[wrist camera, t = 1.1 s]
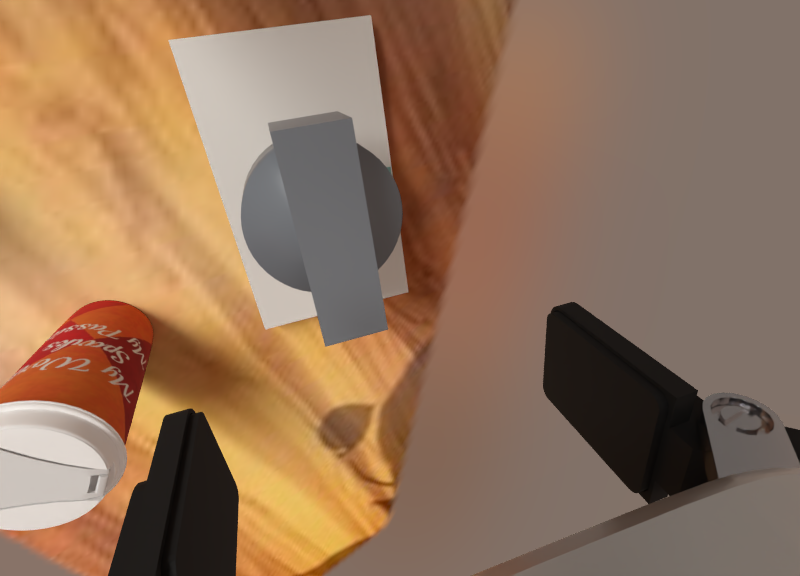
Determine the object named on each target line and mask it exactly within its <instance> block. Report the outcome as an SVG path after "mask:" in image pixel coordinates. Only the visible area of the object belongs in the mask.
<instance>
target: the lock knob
mask: <svg viewBox="0 0 800 576" xmlns="http://www.w3.org/2000/svg"><path fill="white" fill-rule="evenodd" d="M268 126H269V131H270V135H271V139H272V143H273V144H271V145H270V146H269V147H268V148H266V149H265V150H264V151H263V152H262V153H261V154H260V155H259V156H258V158H257V159H256V161H255V162H254V163H253V165H252V167H251V169H250V171H249V173H248V175H247V178H246V181H245V184H244V190H243V196H242V204H241V226H242V231H243V235H244V239H245V241H246V244H247V246H248V249H249V250H250V252H251V254H252V256H253V257H254V259H255V260H256V261H257V263H258V264H259V265H260V266H261V267H262V268H263V269H264V270H265V271H266V272H267V273H268V274H269V275H271V276H272V277H273V278H275V279H276V280H278V281H279V282H281V283H283V284H285V285H287V286H290V287H292V288H295V289H298V290H302V291H307V292H311V293H312V297H313V300H314V304H315V308H316V312H317V316H318V320H319V324H320V327H321V331H322V335H323V339H324V343H325V347H326V346H330V345H333V344H337V343H341V342H344V341H348V340H351V339H355V338H359V337H362V336H366V335H370V334H373V333H377V332H381V331H384V330H388V327H387V321H386V315H385V309H384V303H383V297H382V291H381V285H380V279H379V273H378V270H379V269H380V268H381V267H382V265H383V264H384V263H385V262H386V261H387V259H388V258H389V256H390V255H391V253H392V252H393V250H394V248H395V246H396V243H397V241H398V238H399V235H400V231H401V226H402V215H403V213H402V202H401V197H400V193H399V190H398V187H397V184H396V182H395V180H394V178H393V176H392V175H391V173H390V172H389V170H388V169H387V167H386V166H385V165H384V164H383V163H382V162H381V161H380V159H378V158H377V157H376V156H375V155H374V154H373V153H371V152H370V151H368V150H367V149H365V148H364V147H363V146H361V145H360V144H358V143H356V138H355V132H354V126H353V120H352V117H349V116H347V115H345V114H342V113H340V112H338V111H335V112H329V113H323V114H317V115H311V116H305V117H299V118H293V119H287V120H281V121H275V122H270V123H268Z"/></svg>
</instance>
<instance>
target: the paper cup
mask: <svg viewBox="0 0 800 576" xmlns="http://www.w3.org/2000/svg"><path fill="white" fill-rule="evenodd" d="M152 342H153V328H152V325H151V323H150V321H149V319H148V318H147V317H146V316H145V315H144V314H143V313H142V312H141V311H140V310H138V309H137V308H135V307H133V306H131V305H129V304H126V303H123V302H119V301H110V300H105V301H97V302H93V303H90V304H88V305H85V306H84V307H82V308H80V309H79V310H78V311H76V312H75V313H74V314H73V315H72V316H71V317H70V318H69V319H68V320H67V321H66V322H65V323H64V324H63V325H62V326H61V327H60V328H59V329H58V330H57V331H56V332H55V333H54V334H53V335H52V336H51V337H50V338H49V339H48V340H47V341H46V342H45V343H44V344H43V345H42V346H41V347H40V348H39V349H38V350H37V351H36V352H35V353H34V354H33V355H32V357H31V358H30V359H29V360H28V361H27V362H26V363H25V364H24V365H23V366H22V367H21V368H20V369H19V370H18V371H17V372H16V373H15V374H14V375H13V376H12V377H11V378H10V379H9V381H8V382H7V383H6V384H5V385H4V386H3V387H2V388H1V389H0V529H5V530H37V529H44V528H49V527H54V526H58V525H61V524H64V523H67V522H70V521H72V520H74V519H77V518H79V517H80V516H82V515H84V514H85V513H87V512H88V511H90V510H91V509H92V508H94V507H95V506H96V505H97V504H98V503H99V502H100V501H101V500H102V499H103V498H104V496H105V495H106V494H107V493H108V492H110V491H111V490H112V489H113V488H114V487H115V486H116V484H117V483H118V482H119V480H120V479H121V477H122V476H123V473H124V471H125V468H126V463H127V452H126V448H125V444H126V441H127V437H128V433H129V430H130V426H131V423H132V419H133V415H134V411H135V408H136V404H137V400H138V397H139V393H140V389H141V386H142V382H143V378H144V374H145V371H146V367H147V363H148V359H149V355H150V351H151V347H152Z"/></svg>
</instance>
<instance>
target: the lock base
mask: <svg viewBox="0 0 800 576" xmlns="http://www.w3.org/2000/svg"><path fill="white" fill-rule="evenodd" d="M169 43H170V46H171V49H172V52H173V55H174V58H175V61H176V64H177V67H178V70H179V73H180V76H181V79H182V82H183V85H184V88H185V91H186V94H187V97H188V100H189V103H190V106H191V109H192V112H193V115H194V118H195V121H196V124H197V127H198V130H199V133H200V136H201V139H202V142H203V145H204V148H205V151H206V154H207V157H208V160H209V163H210V166H211V169H212V172H213V175H214V178H215V181H216V184H217V187H218V190H219V193H220V196H221V199H222V202H223V205H224V208H225V211H226V214H227V217H228V220H229V222H230V225H231V228H232V231H233V234H234V237H235V240H236V243H237V246H238V249H239V252H240V255H241V258H242V261H243V264H244V267H245V270H246V273H247V276H248V279H249V282H250V285H251V288H252V291H253V294H254V297H255V300H256V303H257V306H258V309H259V312H260V315H261V318H262V321H263V324H264V327H265V329H269V328H273V327H276V326H280V325H284V324H288V323H292V322H296V321H300V320H303V319H307V318H311V317H315V316H317V312H316V308H315V304H314V300H313V297H312V293H311V292H307V291H302V290H298V289H295V288H292V287H290V286H287V285H285V284H283V283H281V282H279V281H278V280H276V279H275V278H273V277H272V276H271V275H269V274H268V273H267V272H266V271H265V270H264V269H263V268H262V267H261V266H260V265H259V264H258V263H257V261H256V260H255V259H254V257H253V256H252V254H251V252H250V250H249V249H248V246H247V244H246V241H245V239H244V235H243V231H242V226H241V204H242V196H243V190H244V184H245V181H246V178H247V175H248V173H249V171H250V169H251V167H252V165H253V163H254V162H255V161H256V159H257V158H258V156H259V155H260V154H261V153H262V152H263V151H264V150H265V149H266V148H268V147H269V146H270V145H271V144H273V143H272V139H271V135H270V131H269V126H268V123H270V122H275V121H281V120H287V119H293V118H299V117H305V116H311V115H317V114H323V113H329V112H335V111H338V112H340V113H342V114H345V115H347V116H349V117H352V120H353V126H354V132H355V138H356V143H358V144H360V145H361V146H363V147H364V148H365V149H367V150H368V151H370V152H371V153H373V154H374V155H375V156H376V157H377V158H378V159H380V161H381V162H382V163H383V164H384V165H385V166H386V167H387V169H388V170H389V172H390V173H391V175H392V176H393V174H392V166H391V159H390V152H389V144H388V137H387V129H386V122H385V115H384V107H383V100H382V93H381V85H380V78H379V70H378V63H377V56H376V48H375V41H374V33H373V26H372V19H371V15H367V16H359V17H351V18H343V19H335V20H327V21H319V22H311V23H303V24H295V25H287V26H279V27H271V28H263V29H255V30H247V31H238V32H230V33H222V34H214V35H206V36H198V37H190V38H182V39H174V40H169ZM378 273H379V279H380V285H381V291H382V297H383V299H384V298H388V297H392V296H396V295H400V294H403V293H407V292H408V285H407V277H406V270H405V263H404V255H403V248H402V240H401V233H400V235H399V238H398V241H397V243H396V246H395V248H394V250H393V252H392V253H391V255H390V256H389V258H388V259H387V261H386V262H385V263H384V264H383V265H382V267H381V268H380V269H379V270H378Z"/></svg>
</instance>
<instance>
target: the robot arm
mask: <svg viewBox="0 0 800 576" xmlns="http://www.w3.org/2000/svg"><path fill="white" fill-rule="evenodd" d="M543 389H544V392H545V394H546V396H547V398H548V399H549V400H550V401H551V402H552V403H553V405H554V406H555V407H556V408H557V409H558V410H559V411H560V412H561V413H562V415H563V416H564V417H565V418H566V419H567V420H568V421H569V422H570V424H571V425H572V426H573V427H574V428H575V429H576V430H577V431H578V432H579V433H580V435H581V436H582V437H583V438H584V439H585V440H586V441H587V442H588V444H589V445H590V446H591V447H592V448H593V449H594V450H595V451H596V453H597V454H598V455H599V456H600V457H601V458H602V459H603V460H604V461H605V463H606V464H607V465H608V466H609V467H610V468H611V469H612V470H613V471H614V472H615V474H616V475H617V476H618V477H619V478H620V479H621V480H622V482H623V483H624V484H625V485H626V486H627V487H628V488H629V489H630V490H631V491H632V492H634V493H639V494H640V495H641V496H642V497H643V498H644V499H645V500H646V502H647V503H648V505H646V506H643V507H641V508H638V509H636V510H633V511H631V512H628V513H626V514H623V515H621V516H618V517H616V518H613V519H611V520H608V521H606V522H603V523H600V524H598V525H596V526H593V527H590V528H588V529H586V530H583V531H580V532H578V533H575V534H573V535H570V536H568V537H565V538H563V539H561V540H558V541H556V542H553V543H551V544H548V545H546V546H543V547H541V548H539V549H536V550H533V551H531V552H528V553H526V554H523V555H521V556H519V557H516V558H514V559H511V560H509V561H506V562H504V563H501V564H499V565H496V566H494V567H491V568H489V569H486V570H484V571H482V572H479V573H477V574H474V575H472V576H800V430H797V429H793V428H788V427H784V425H783V423H782V421H781V420H780V418H779V417H778V415H777V414H776V413H775V412H774V411H772V410H771V409H770V408H769V407H767V406H766V405H764V404H762V403H760V402H759V401H757V400H754V399H752V398H749V397H747V396H743V395H739V394H734V393H717V394H712V395H710V396H708V397H706V399H705V400H702V399H701V398H699V397H698V396H697V392H698V390H696V389H695V388H694V387H692V386H691V385H690V384H688V383H687V382H685V381H684V380H682V379H681V378H680V377H678V376H677V375H676V374H674V373H673V372H671V371H670V370H669V369H667V368H666V367H664V366H663V365H662V364H660V363H659V362H657V361H656V360H655V359H653V358H652V357H651V356H649V355H648V354H646V353H645V352H644V351H642V350H641V349H639V348H638V347H637V346H635V345H634V344H633V343H631V342H630V341H628V340H627V339H626V338H624V337H623V336H621V335H620V334H618V333H617V332H616V331H614V330H613V329H612V328H610V327H609V326H608V325H606V324H605V323H603V322H602V321H600V320H599V319H598V318H596V317H595V316H594V315H592V314H591V313H589V312H588V311H587V310H585V309H584V308H582V307H581V306H580V305H578V304H577V303H575V302H570V303H567V304H563V305H560V306H556V307H554V308H553V309H552V311H551V313H550V314H549V315H548V317H547V329H546V345H545V362H544V378H543ZM668 495H669V497H667V496H668ZM665 497H666V498H665ZM663 498H664V499H663ZM660 499H661V500H660ZM658 500H659V501H658ZM655 501H656V502H655ZM238 503H239V496H238V489H237V486H236V483H235V481H234V479H233V476H232V474H231V472H230V470H229V468H228V465H227V463H226V461H225V459H224V457H223V454H222V452H221V450H220V448H219V446H218V443H217V441H216V439H215V437H214V435H213V433H212V430H211V428H210V426H209V424H208V422H207V419H206V417H205V415H204V413H203V412H198V413H195V411H194V410H193V409H187V410H183V411H179V412H176V413H172V414H169V415H166V416H165V417H164V419H163V422H162V426H161V430H160V434H159V437H158V441H157V445H156V449H155V452H154V456H153V460H152V464H151V468H150V471H149V475H148V479H147V481H144V482H140V483H138V484H137V485H136V486H135V488H134V490H133V493H132V496H131V499H130V502H129V506H128V509H127V513H126V516H125V519H124V523H123V526H122V530H121V533H120V536H119V540H118V543H117V547H116V550H115V553H114V557H113V560H112V564H111V567H110V571H109V574H108V576H236V553H237V528H238Z"/></svg>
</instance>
